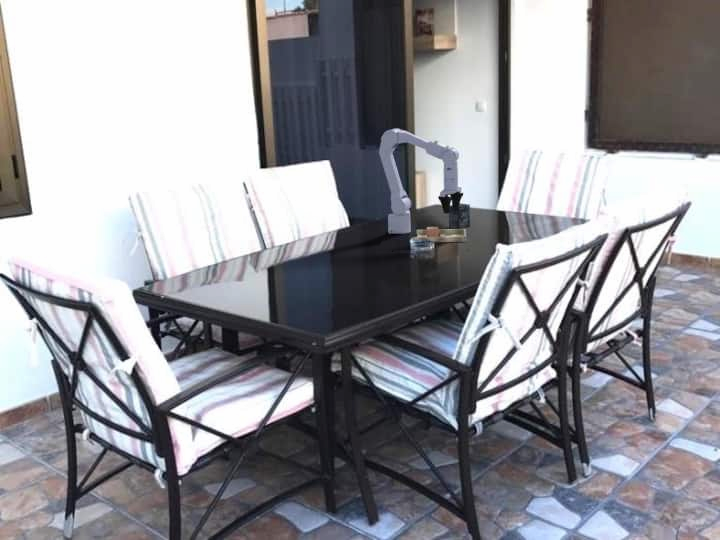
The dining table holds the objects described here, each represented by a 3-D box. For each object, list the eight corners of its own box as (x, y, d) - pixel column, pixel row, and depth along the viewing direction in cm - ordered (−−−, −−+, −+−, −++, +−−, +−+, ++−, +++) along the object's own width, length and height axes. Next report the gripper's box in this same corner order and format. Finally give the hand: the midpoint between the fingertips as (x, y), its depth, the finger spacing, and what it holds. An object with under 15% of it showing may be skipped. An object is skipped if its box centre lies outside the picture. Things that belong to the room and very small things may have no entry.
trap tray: (414, 245, 290) (414, 237, 289) (416, 236, 305) (416, 229, 304) (466, 244, 287) (465, 237, 286) (466, 236, 302) (466, 228, 301)
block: (426, 239, 294) (426, 229, 293) (427, 236, 298) (427, 227, 297) (438, 238, 293) (437, 229, 292) (438, 236, 298) (438, 226, 297)
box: (459, 231, 312) (458, 206, 309) (448, 230, 316) (448, 205, 313) (470, 228, 317) (470, 204, 314) (460, 226, 321) (459, 203, 318)
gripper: (450, 181, 290) (451, 215, 293) (467, 176, 301) (468, 209, 305) (435, 180, 294) (435, 214, 297) (452, 176, 305) (453, 208, 309)
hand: (451, 211), depth 301 cm, fingers open, 7 cm apart
